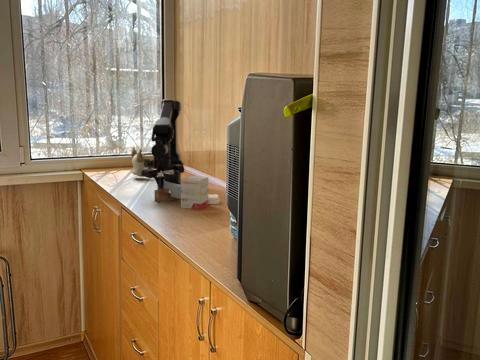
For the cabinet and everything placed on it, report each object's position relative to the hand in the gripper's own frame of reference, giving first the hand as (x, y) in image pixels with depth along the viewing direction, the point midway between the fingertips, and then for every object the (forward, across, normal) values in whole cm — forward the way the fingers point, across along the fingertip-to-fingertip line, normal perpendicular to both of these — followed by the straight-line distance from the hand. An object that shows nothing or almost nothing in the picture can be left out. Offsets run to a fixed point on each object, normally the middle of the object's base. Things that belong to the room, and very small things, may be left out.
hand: (163, 191), depth 204 cm
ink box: (+3, 0, +19) cm, 19 cm away
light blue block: (+1, 0, +4) cm, 4 cm away
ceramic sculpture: (+3, -18, -39) cm, 43 cm away
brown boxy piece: (+3, 0, +4) cm, 5 cm away
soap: (+4, -8, +18) cm, 20 cm away
